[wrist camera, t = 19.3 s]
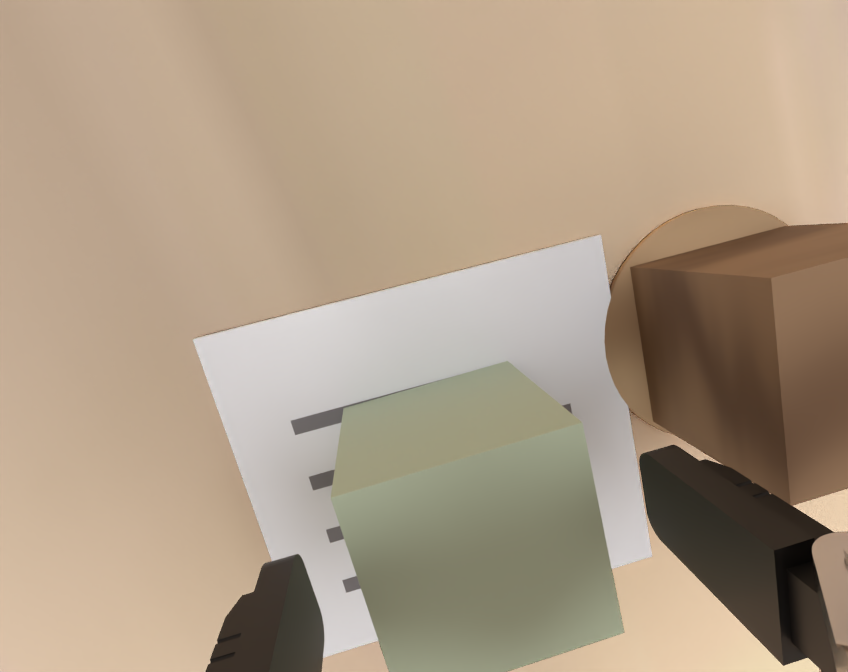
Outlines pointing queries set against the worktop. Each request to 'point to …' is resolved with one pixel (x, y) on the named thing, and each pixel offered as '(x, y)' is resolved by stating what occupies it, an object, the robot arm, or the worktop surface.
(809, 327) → the walnut block
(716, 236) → the coaster
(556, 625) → the sage cube
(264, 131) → the worktop surface
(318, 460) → the letter
